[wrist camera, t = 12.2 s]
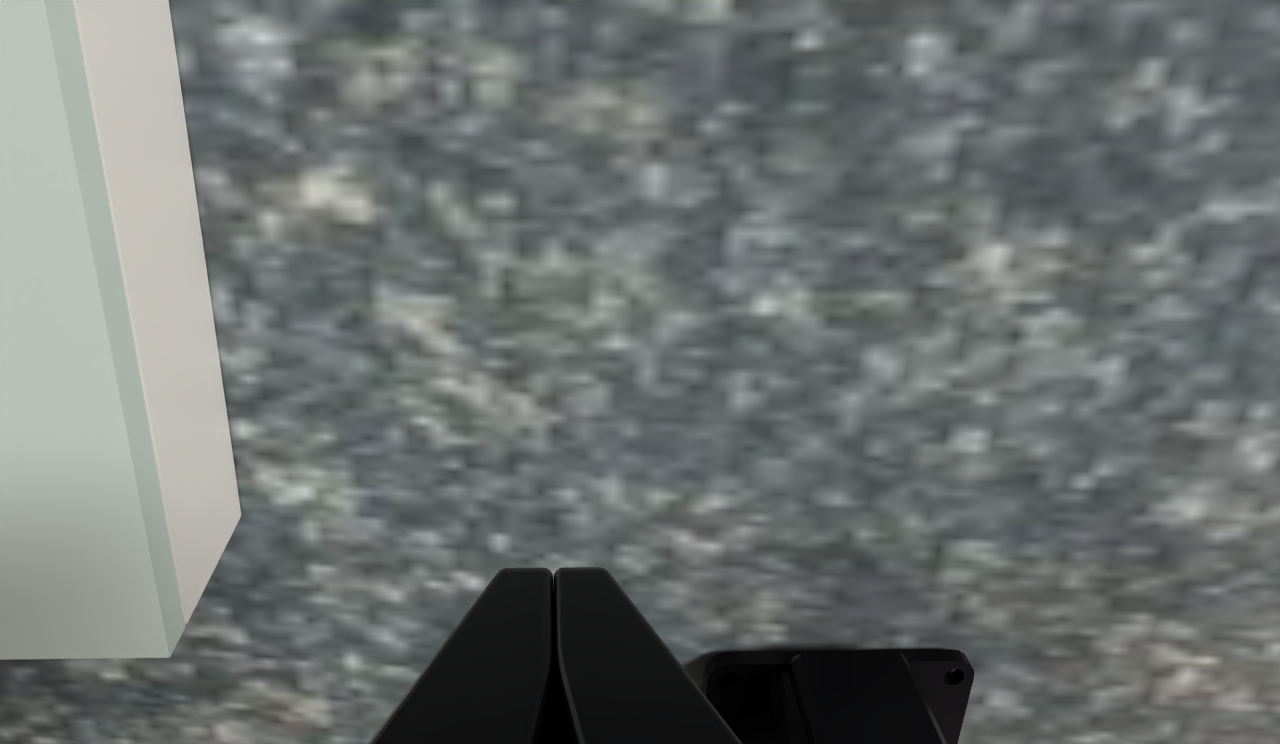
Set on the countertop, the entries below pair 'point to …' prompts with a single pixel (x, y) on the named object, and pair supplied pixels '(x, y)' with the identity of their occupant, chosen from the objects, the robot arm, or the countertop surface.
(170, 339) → the cable duct
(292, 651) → the countertop surface
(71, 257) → the lid
